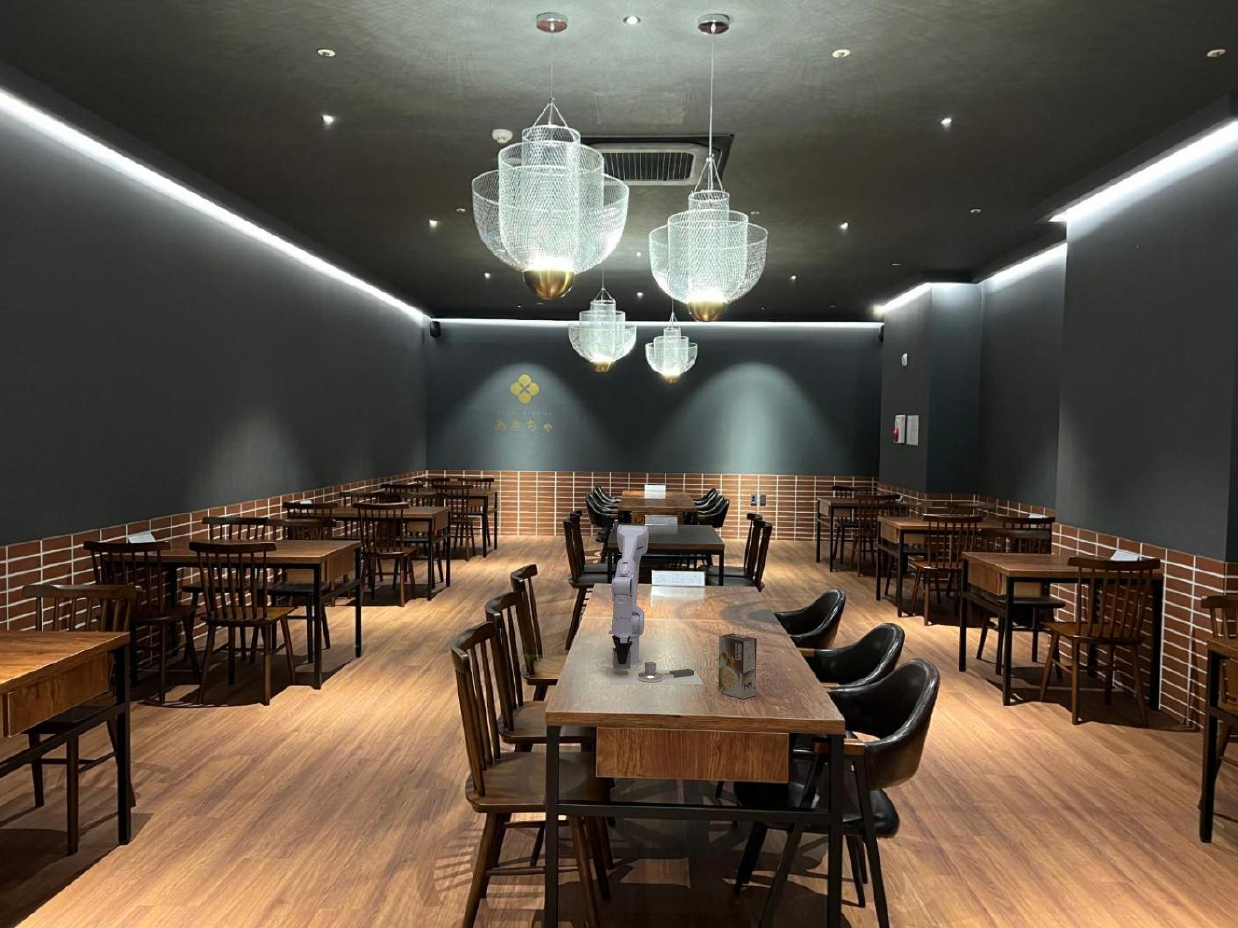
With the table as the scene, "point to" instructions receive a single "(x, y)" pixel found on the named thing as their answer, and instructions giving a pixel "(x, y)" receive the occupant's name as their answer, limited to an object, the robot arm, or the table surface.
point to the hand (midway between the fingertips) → (621, 661)
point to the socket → (621, 666)
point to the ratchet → (653, 676)
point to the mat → (632, 678)
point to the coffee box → (737, 665)
